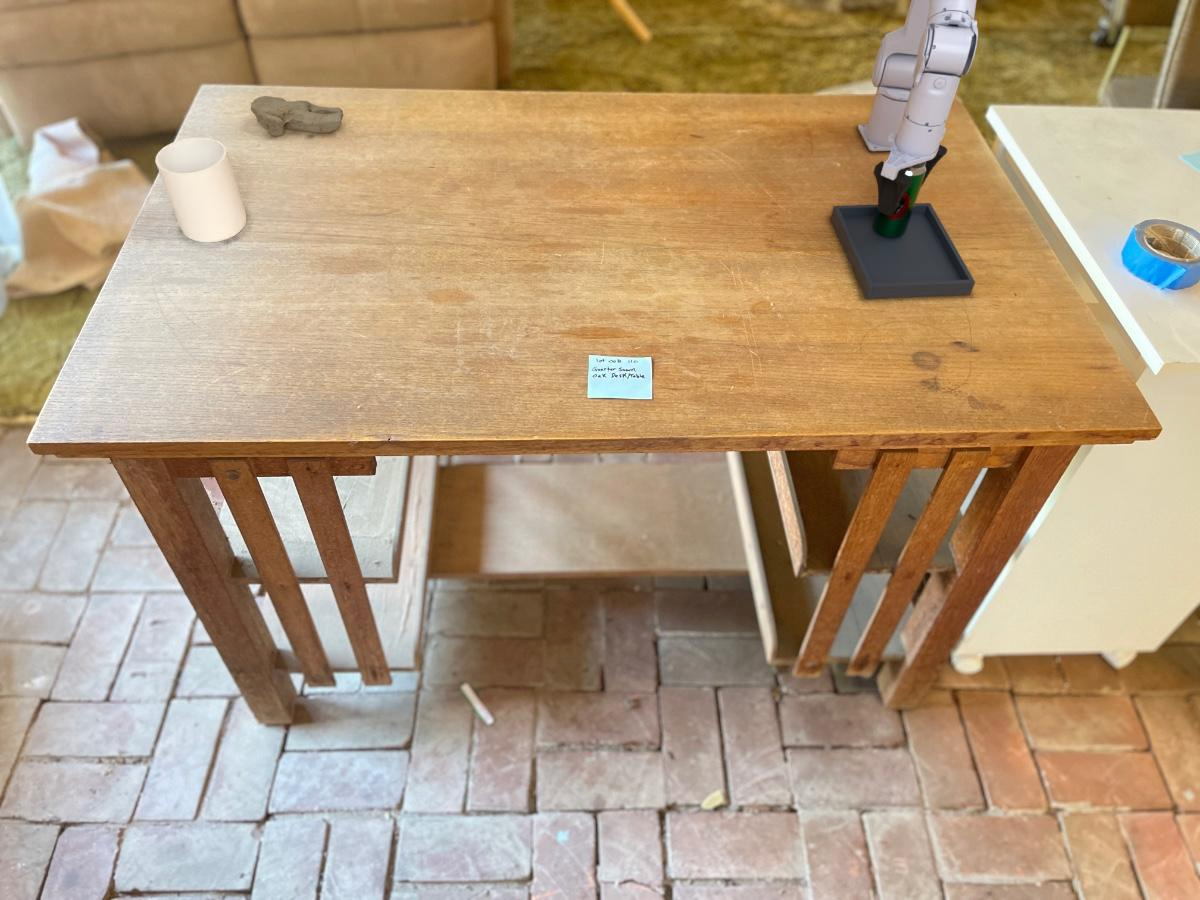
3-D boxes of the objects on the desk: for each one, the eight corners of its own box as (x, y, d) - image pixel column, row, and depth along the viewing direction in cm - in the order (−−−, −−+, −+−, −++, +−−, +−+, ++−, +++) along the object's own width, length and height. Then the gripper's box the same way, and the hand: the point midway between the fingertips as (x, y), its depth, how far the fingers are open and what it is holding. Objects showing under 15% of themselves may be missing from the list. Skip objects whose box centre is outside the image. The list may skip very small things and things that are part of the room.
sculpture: (349, 121, 158) (260, 112, 157) (346, 96, 154) (255, 86, 153) (342, 145, 154) (250, 136, 153) (339, 120, 150) (245, 111, 149)
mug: (176, 246, 133) (149, 175, 124) (190, 199, 141) (165, 129, 132) (244, 243, 134) (221, 172, 125) (253, 196, 142) (233, 126, 133)
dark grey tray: (925, 215, 144) (930, 202, 142) (970, 295, 131) (975, 282, 129) (830, 218, 142) (833, 205, 140) (865, 299, 130) (869, 286, 128)
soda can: (911, 237, 138) (935, 167, 129) (881, 242, 137) (903, 171, 128) (895, 218, 141) (917, 148, 132) (865, 223, 140) (886, 152, 131)
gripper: (924, 86, 130) (898, 171, 141) (872, 125, 123) (849, 211, 133) (969, 104, 127) (939, 189, 138) (920, 144, 120) (892, 231, 130)
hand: (898, 201), depth 135 cm, fingers open, 7 cm apart
